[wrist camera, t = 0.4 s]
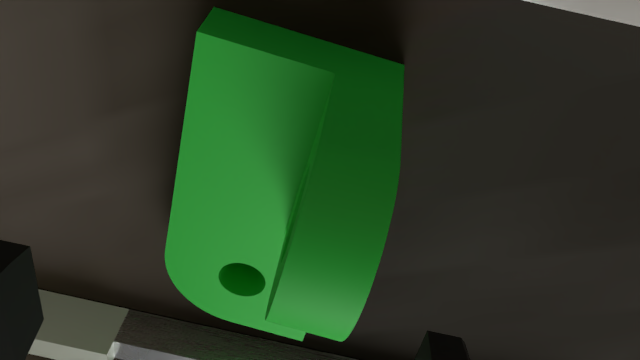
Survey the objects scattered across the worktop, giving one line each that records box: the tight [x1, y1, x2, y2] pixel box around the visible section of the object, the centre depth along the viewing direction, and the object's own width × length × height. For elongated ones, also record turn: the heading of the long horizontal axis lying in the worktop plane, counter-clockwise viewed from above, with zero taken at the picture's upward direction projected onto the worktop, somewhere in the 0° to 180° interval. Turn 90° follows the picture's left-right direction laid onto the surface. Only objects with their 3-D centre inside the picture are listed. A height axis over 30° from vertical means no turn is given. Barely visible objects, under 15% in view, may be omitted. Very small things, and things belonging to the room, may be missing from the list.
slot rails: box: [113, 0, 640, 360], centre depth 21 cm, size 20×20×2 cm
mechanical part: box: [165, 7, 404, 342], centre depth 19 cm, size 12×6×8 cm, turn 165°
